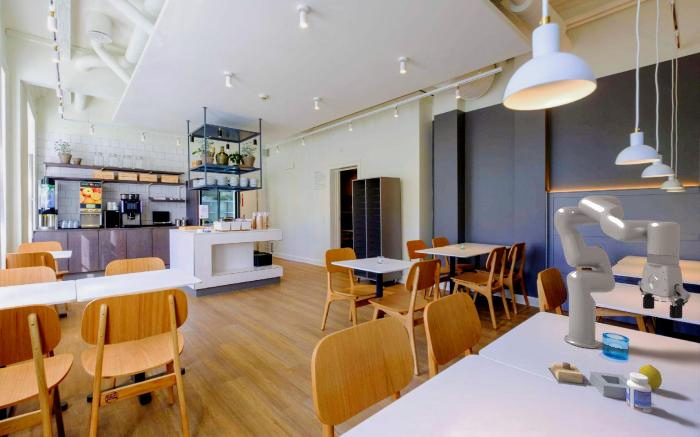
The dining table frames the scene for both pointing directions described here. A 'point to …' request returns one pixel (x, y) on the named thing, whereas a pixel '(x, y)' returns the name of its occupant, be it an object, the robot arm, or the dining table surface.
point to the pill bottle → (639, 393)
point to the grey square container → (609, 384)
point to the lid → (566, 372)
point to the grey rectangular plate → (567, 381)
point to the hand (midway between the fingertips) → (661, 313)
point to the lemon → (651, 376)
